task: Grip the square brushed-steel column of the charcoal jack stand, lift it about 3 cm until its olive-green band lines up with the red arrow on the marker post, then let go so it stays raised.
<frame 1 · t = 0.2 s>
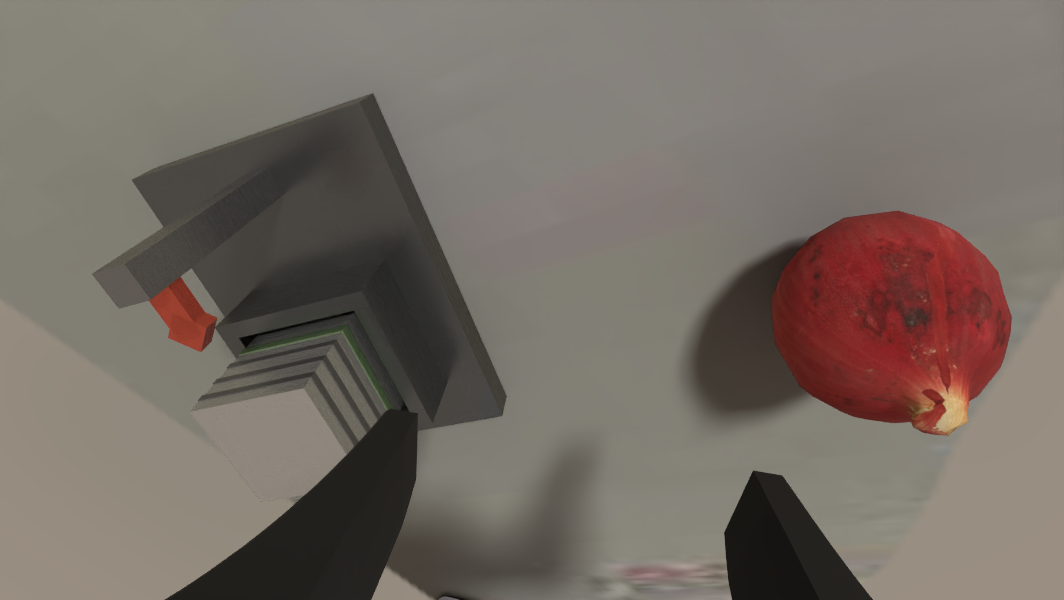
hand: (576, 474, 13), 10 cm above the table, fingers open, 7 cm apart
onion: (835, 254, 20), on the table
jack base: (361, 322, 24), on the table
column: (319, 388, 20), point 4 cm above the table, slide at 0.0 cm
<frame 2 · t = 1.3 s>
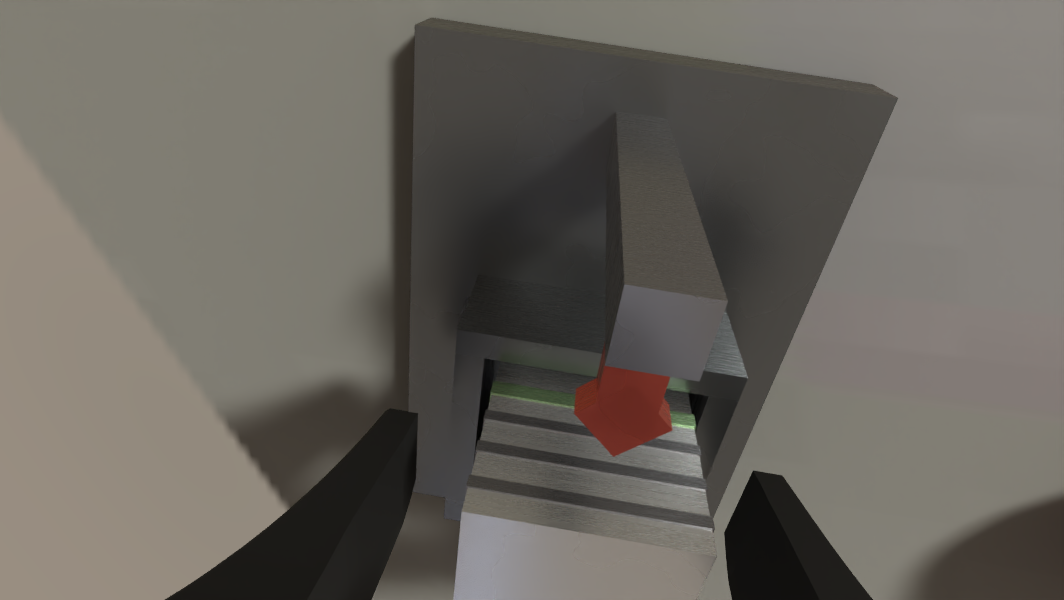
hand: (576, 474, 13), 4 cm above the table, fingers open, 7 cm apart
jack base: (583, 361, 16), on the table
column: (576, 479, 13), point 4 cm above the table, slide at 0.0 cm
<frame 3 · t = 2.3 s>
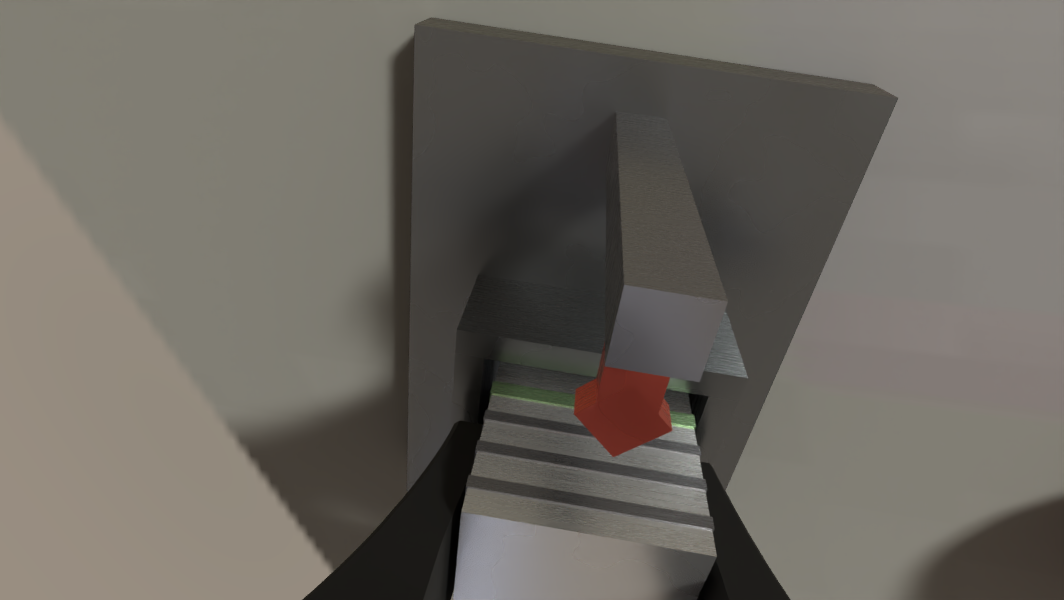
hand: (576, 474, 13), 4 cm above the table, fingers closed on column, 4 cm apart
jack base: (582, 361, 16), on the table
column: (575, 479, 13), point 4 cm above the table, slide at 0.0 cm, touching gripper
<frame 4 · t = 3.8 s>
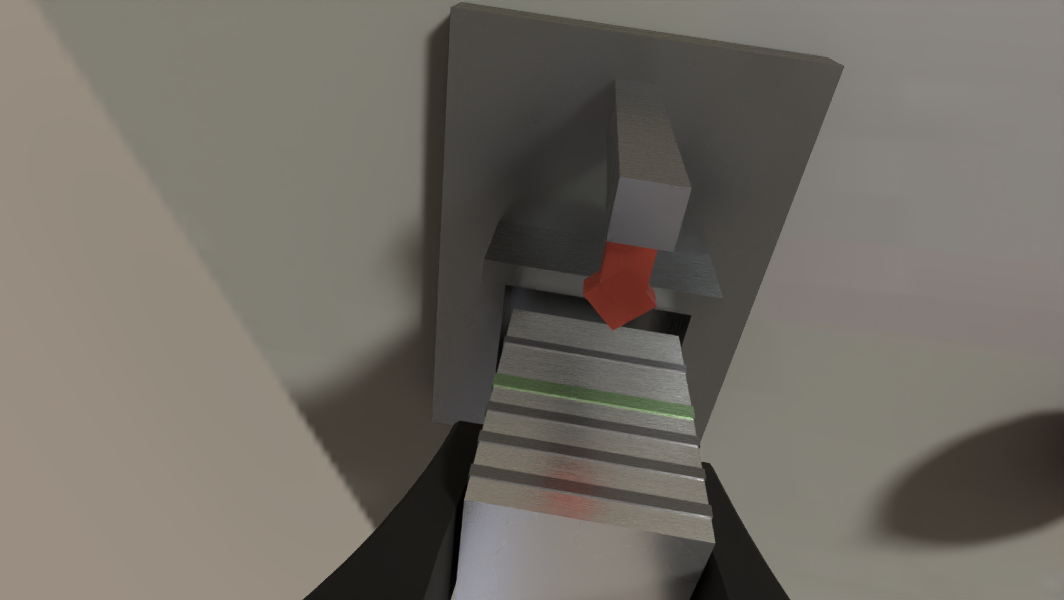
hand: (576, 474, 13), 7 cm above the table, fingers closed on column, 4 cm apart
jack base: (586, 303, 19), on the table
column: (576, 470, 13), point 7 cm above the table, slide at 2.8 cm, touching gripper
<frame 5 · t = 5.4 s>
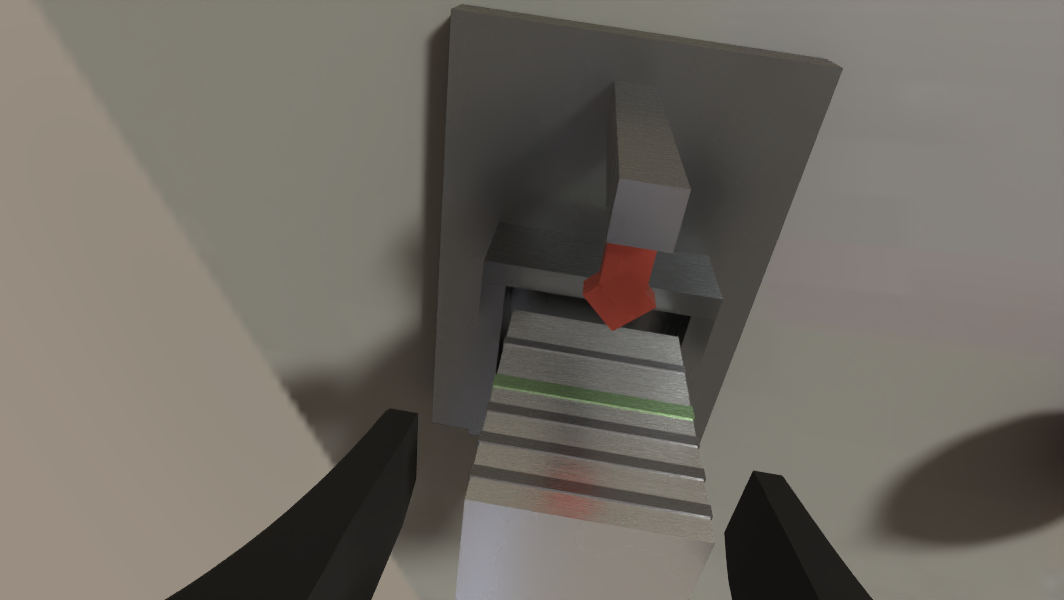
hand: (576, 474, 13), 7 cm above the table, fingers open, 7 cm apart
jack base: (586, 304, 19), on the table
column: (576, 470, 13), point 7 cm above the table, slide at 2.8 cm
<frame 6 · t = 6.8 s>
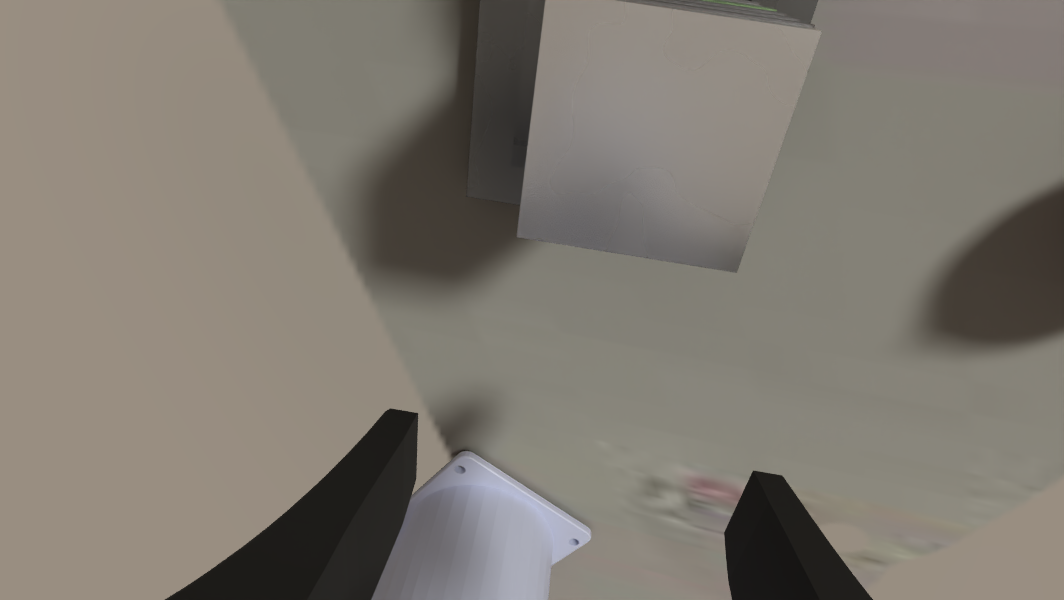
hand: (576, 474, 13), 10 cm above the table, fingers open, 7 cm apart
jack base: (631, 51, 18), on the table
column: (642, 104, 12), point 7 cm above the table, slide at 2.8 cm
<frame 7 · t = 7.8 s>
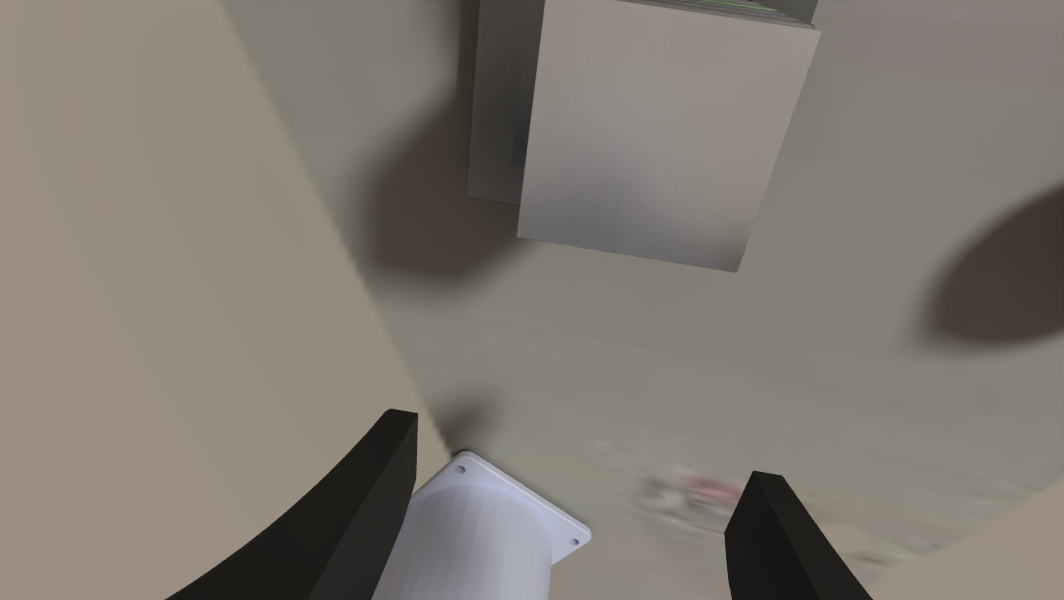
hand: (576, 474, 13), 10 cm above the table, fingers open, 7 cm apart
jack base: (631, 51, 18), on the table
column: (642, 104, 12), point 7 cm above the table, slide at 2.8 cm
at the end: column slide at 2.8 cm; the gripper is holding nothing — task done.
